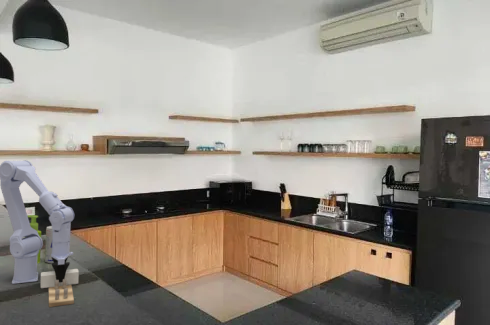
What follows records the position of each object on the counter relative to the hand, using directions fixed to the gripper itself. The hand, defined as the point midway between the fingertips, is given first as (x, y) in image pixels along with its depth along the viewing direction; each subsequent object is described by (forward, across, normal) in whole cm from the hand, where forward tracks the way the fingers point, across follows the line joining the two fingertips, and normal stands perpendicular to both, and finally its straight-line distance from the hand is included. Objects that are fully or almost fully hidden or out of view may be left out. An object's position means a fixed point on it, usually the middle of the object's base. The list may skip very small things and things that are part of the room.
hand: (59, 278), depth 131 cm
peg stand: (+2, -13, 0) cm, 13 cm away
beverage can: (+2, +29, +2) cm, 29 cm away
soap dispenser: (+2, +30, +10) cm, 32 cm away
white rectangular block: (+2, 0, 0) cm, 2 cm away
